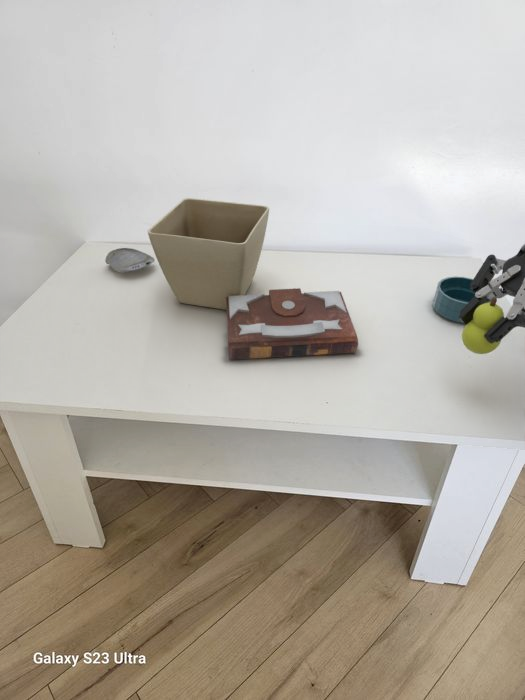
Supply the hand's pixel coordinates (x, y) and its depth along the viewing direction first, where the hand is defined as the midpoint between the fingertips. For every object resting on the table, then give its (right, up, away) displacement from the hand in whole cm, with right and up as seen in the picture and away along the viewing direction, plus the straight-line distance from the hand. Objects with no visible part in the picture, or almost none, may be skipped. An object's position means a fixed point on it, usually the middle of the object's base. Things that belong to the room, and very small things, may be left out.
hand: (474, 330), depth 67 cm
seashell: (-62, +16, +40) cm, 76 cm away
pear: (+2, -3, +3) cm, 5 cm away
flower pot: (-41, +10, +33) cm, 54 cm away
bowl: (+9, +5, +28) cm, 30 cm away
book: (-26, 0, +21) cm, 34 cm away
